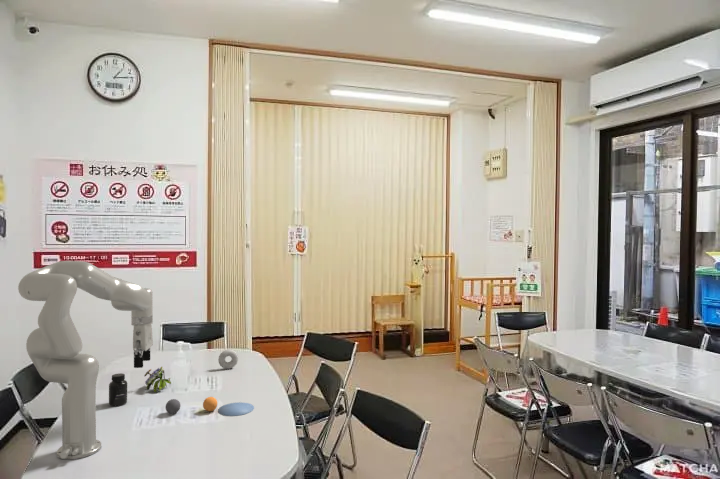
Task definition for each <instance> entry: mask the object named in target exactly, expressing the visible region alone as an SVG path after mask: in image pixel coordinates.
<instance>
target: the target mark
mask: <svg viewBox="0 0 720 479" xmlns="http://www.w3.org/2000/svg"><path fill="white" fill-rule="evenodd" d="M254 409H255V405H254V404H251V403H249V402H241V401H240V402H231V403H227V404H224V405H222V406H221V405H220V407H219V408H218V410H217V412H218V413H219V414H220V415H222V416H226V417H238V416H243V415H247V414H249V413H251V412H253V411H254Z"/></svg>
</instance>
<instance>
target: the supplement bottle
mask: <svg viewBox="0 0 720 479" xmlns="http://www.w3.org/2000/svg"><path fill="white" fill-rule="evenodd" d="M125 378H126V375H125V373H115V374H112V375H111V381H110V382H109V384H108V405H109V406H111V407H120V406H124V405H126V404H127V402H128V381H127V380H126V379H125Z"/></svg>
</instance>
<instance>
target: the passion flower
mask: <svg viewBox="0 0 720 479" xmlns="http://www.w3.org/2000/svg"><path fill="white" fill-rule="evenodd" d="M151 371H152V368H150V369H148V370H147V371H146V372H145V374H144V377H146V376H148V375H149V377H148V378H147V379H146V380H145V381H144V383H145V385H146V387H145V389H147V390H149V389H151V386H153V392H154V393H156V394H157V392H158V391H159V392H160V391H161V390H163V389H165V388H168V387H167V384H172V382H171V377H168V378H165V370H164V368H163V366H161V367H158V368H157V369H155V370H153V372H151ZM150 372H151V373H150ZM157 390H158V391H157Z"/></svg>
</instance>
